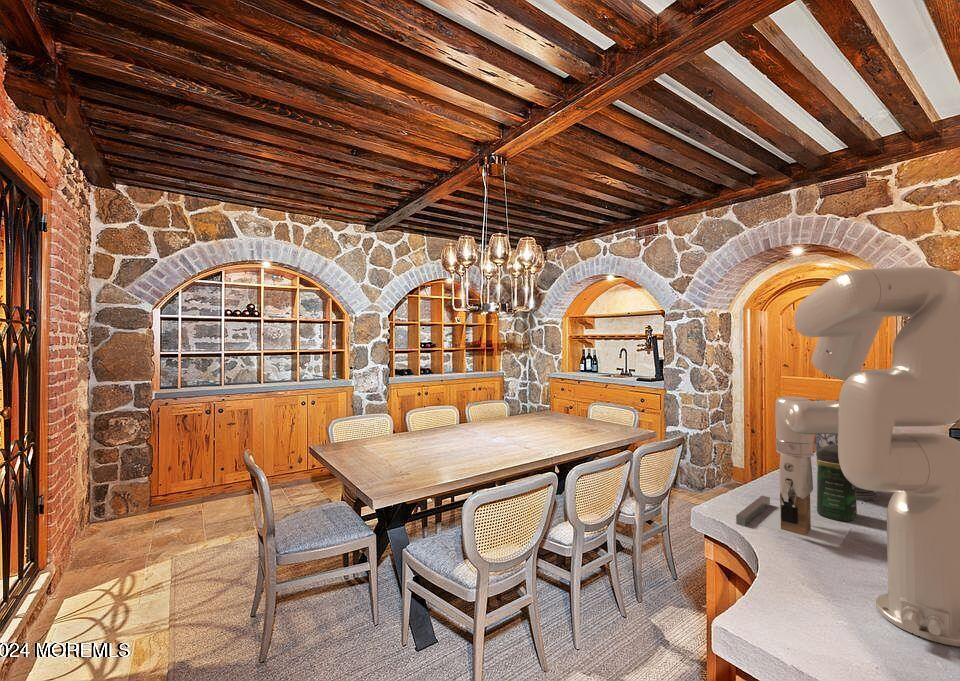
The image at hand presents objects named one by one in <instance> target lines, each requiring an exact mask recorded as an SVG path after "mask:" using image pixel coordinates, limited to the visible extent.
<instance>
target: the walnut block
mask: <svg viewBox="0 0 960 681" xmlns="http://www.w3.org/2000/svg"><path fill="white" fill-rule="evenodd" d="M790 493H791V492H790ZM793 494H795V493H793ZM781 497H782V493H781V492H780V491H779V501H780V505H779V506H780V510H779V511H780V512H781V501H782V498H781ZM790 498H792V497H790ZM792 501H793V498H792ZM796 507H798V524H793V523H789V522H785V521H782V513H781V529H782V530H786V531H790V532H793V533H797V534H801V535H805V536H806V535H807V533H808V532H809V531H810V530H811V519H812V517H811V516H812V515H811V493H810V494H809V495H808V496H807V497H805V498H804V499H801V498H800V497H798V499H797V504H796Z"/></svg>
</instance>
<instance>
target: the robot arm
mask: <svg viewBox="0 0 960 681" xmlns="http://www.w3.org/2000/svg"><path fill="white" fill-rule="evenodd" d="M887 317H892V318H893V317H909V318H910V319H909V320H908V321H907V322H906V323H905V324H904V325H903V326H902V327H901V329H900V330H899V331H898V333H897V335H896V337H895V338H894V341H893V343H892V344H893V345H892V361H891V362H892V363H891V366H890V368H887V369H886V368H878V369H877V368H874V369H864V370H862V369H863V366H864V364H865V362H866V360H867V357H868V355H869V353H870V351H871V348H872V345H873V343H874V342H875V339H876V337H877V334H878V332H879V330H880V328H881V325H882V323H883V320H884V318H887ZM793 320H794V322H793V323H794V327H795V329H796V331H797V332H798V334H800V335H801V336H803V337H807V338H818V340H817V341H816V345H815V348H814V350H813V354H812V356H811V364H812V365H813V366H814V368H815V369H816V370H818V371H819V372H821V373H823V374H824V375H827V376H829V377H831V378H835V379H838V380H840V381H842V382H844V383H843V384H842V387H841V389H840V391H839V397H838V398H839V399H838V400H839V401H836V400H826V401H815V400H811V399H809V398H806V397H800V396H780V397H777V398H776V400H775V405H774V409H775V412H774V413H775V414H774V415H775V452H776V453H778V454H780V455H779V456H780V457H779V475H778V476H779V478H778V479H779V493H780V492H781V493H782V497H781V498H782V501H781V513H782V521H785V522H789V523H793V524H798V507H796V504H797V499H798V497H800V498H801V499H804V498H805V497H807V496H808V495H809V494H810V495H811V493H812V492H813V490H814V481H813V465H812V457H814V454H815V453H814V435H815V434H838V458H839V464H840V467H841V470H842V472H843V474H844V476H845V477H846V479H847V480H848V481H849V482H850V483H852V484H853V485H855V486H856V487H859V488H861V489H865V490H870V491H874V492H893V494H892V495H891V497H890V499H889V502H888V505H887V509H886V537H887V538H886V548H887V550H886V551H887V552H886V553H887V556H886V557H887V593H883V594H880V595H878V596H877V598H876V599H875V606H876V609H877V611H878V612H879V613H880V615H881V616H883V618H885V619H886V620H887V621H889V623H891V624H893V625H894V626H897V627H898V628H900V629H901V630H904V631H906V632H908V633H910V634H912V633H913V634H912V635H914V636H917V637H919V636H920V637H919V638H922V639H925V640H928V641H930V642H935V643H938V644H942V645H946V646H947V645H948V646H952V647H960V440H958V439H955V438H953V437H951V436H948V435H945V434H940V433H933V432H907V431H906V432H893V430H894V427H896V428H897V427H898V428H899V427H901V428H902V427H908V428H909V427H940V426H941V427H942V426H947V425H948V426H949V425H952V424H954V423H955V422H957V421H959V420H960V275H959V274H958V273H956V272H953V271H950V270H947V269H943V268H936V267H923V266H922V267H911V266H910V267H893V268H889V267H888V268H871V269H870V268H868V269H867V268H864V269H852V270H851V269H850V270H847V271H844V272H841V273H838V274H836V275H835V276H833V277H831V279H829V280H828V281H826V282H824V283H823V284H822V285H821V286H819V287H818V288H815V290H813V291H811V292H810V293H809V294H808V295H807V296H805V297H804V299H803V300H802V301H801V302H800V303H799V304H798V306H797V308H796V310H795V313H794V317H793ZM790 492H791V493H790ZM793 493H795V494H793ZM790 497H792V498H793V501H792V498H790Z"/></svg>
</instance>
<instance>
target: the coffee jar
mask: <svg viewBox="0 0 960 681" xmlns="http://www.w3.org/2000/svg"><path fill="white" fill-rule="evenodd" d="M816 475H817V477H816V478H817V479H816V487H817V489H816V512H817V514H818V515H820V516H823V517H825V518H827V519H829V520H834V521H841V522H847V523H849V522H852V521H853V520H855V519H856V517H857V513H858V508H857V506H858V505H857V499H856V486H855V485H853V484H852V483H850V482H849V481H848V480H847V479H846V477H845V476H844V474H843V472H842V470H841V467H840V464H839V458H838V445H835V444H830V445H828V446H824V447H821V448H820V449H818V450H817V455H816Z"/></svg>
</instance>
